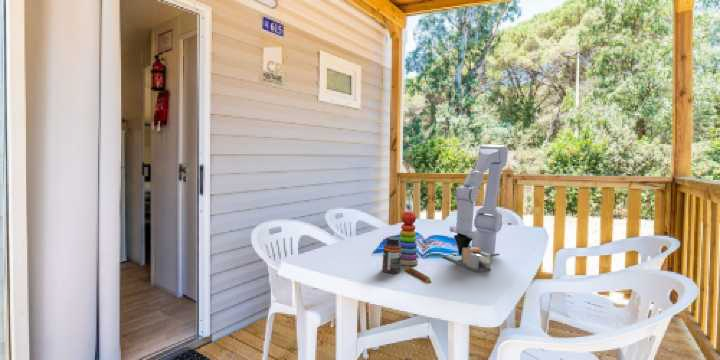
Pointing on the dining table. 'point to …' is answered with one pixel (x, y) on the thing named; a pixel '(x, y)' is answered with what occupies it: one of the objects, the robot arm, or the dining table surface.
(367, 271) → the dining table surface
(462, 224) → the robot arm
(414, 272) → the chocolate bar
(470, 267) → the rail
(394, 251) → the supplement bottle
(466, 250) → the block
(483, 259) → the shaft
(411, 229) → the stacking toy
